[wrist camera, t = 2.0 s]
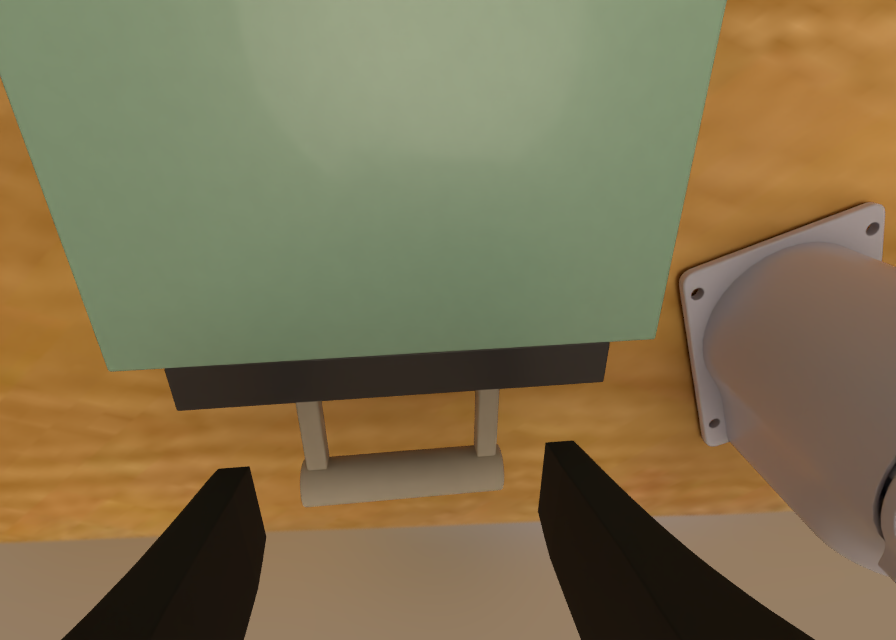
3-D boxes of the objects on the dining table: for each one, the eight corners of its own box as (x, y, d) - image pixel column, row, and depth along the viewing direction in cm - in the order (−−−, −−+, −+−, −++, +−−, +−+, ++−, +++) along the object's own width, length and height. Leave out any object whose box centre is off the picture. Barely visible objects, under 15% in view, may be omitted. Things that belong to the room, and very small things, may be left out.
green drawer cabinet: (549, 233, 18) (655, 340, 11) (223, 245, 17) (107, 373, 10) (594, -247, 13) (867, -657, 6) (110, -278, 12) (-343, -849, 4)
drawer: (527, 392, 20) (581, 514, 15) (266, 410, 19) (218, 549, 14) (571, -118, 13) (710, -256, 7) (154, -133, 12) (-45, -306, 6)
